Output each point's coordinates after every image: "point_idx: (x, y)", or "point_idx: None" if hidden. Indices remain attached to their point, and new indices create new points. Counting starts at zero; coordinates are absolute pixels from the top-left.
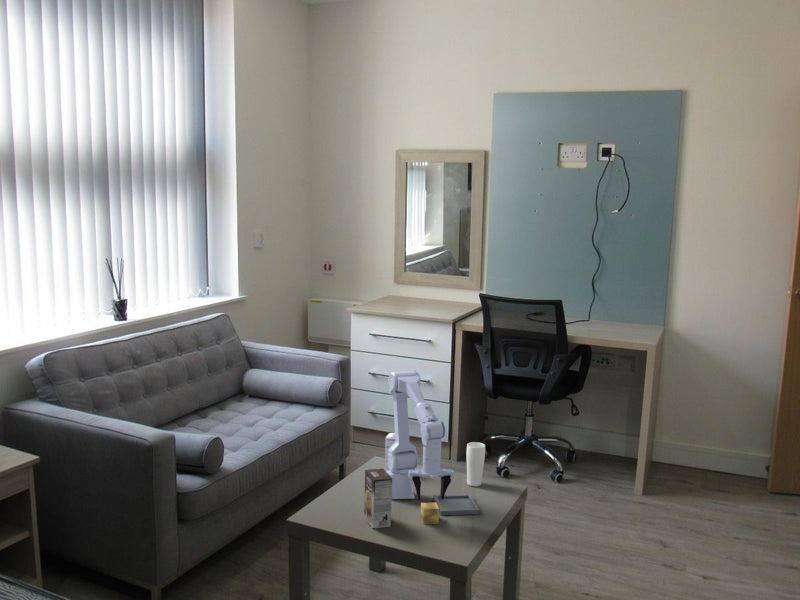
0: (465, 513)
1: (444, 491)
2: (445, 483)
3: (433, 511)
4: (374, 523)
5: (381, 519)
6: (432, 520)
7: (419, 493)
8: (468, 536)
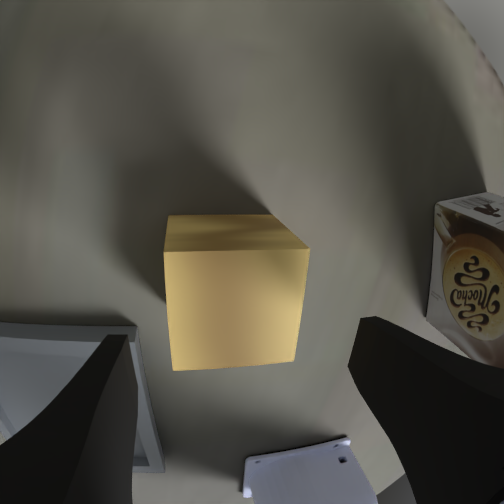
0: (7, 325)
1: (76, 391)
2: (24, 499)
3: (215, 241)
4: (500, 197)
5: (494, 206)
6: (213, 220)
7: (417, 346)
8: (31, 31)
